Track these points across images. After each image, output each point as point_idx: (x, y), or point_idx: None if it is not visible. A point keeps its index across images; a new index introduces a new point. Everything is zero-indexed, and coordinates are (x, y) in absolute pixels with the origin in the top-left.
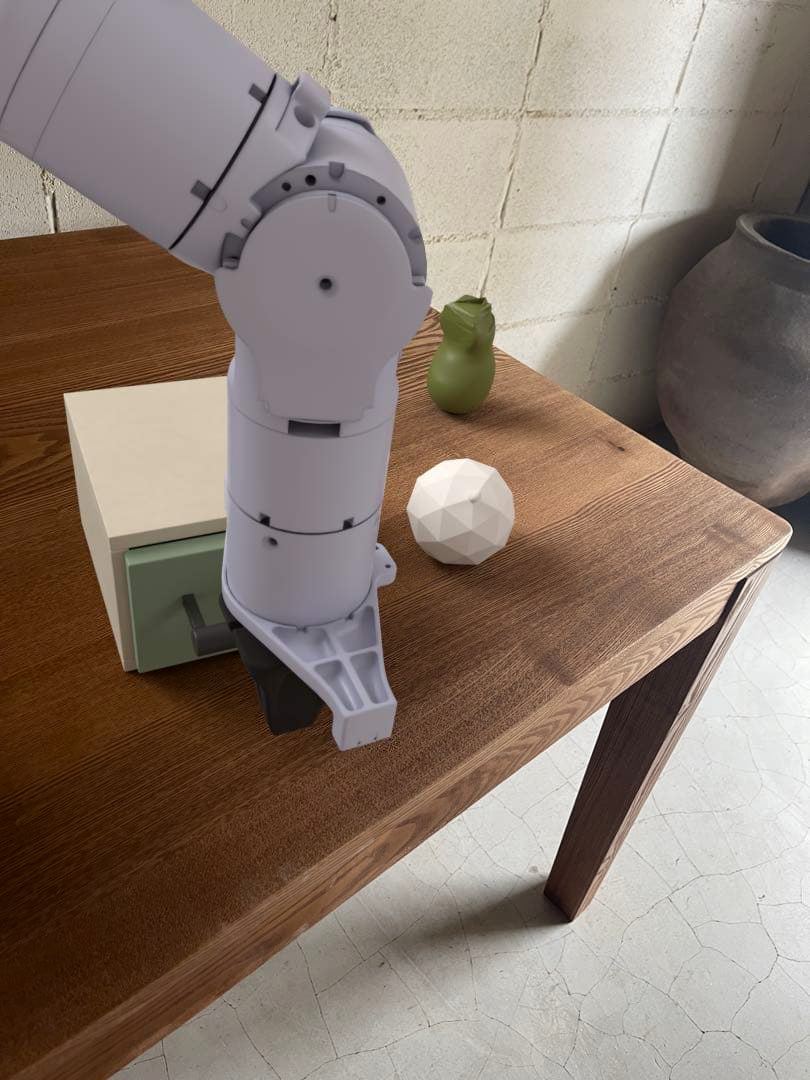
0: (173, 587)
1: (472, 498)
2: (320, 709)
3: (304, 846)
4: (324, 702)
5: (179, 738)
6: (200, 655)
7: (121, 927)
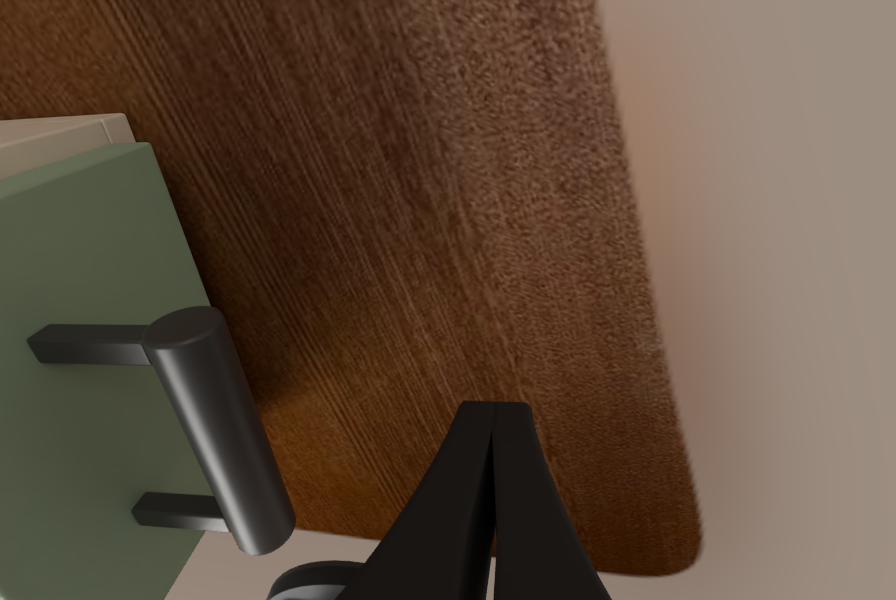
0: (126, 560)
1: None
2: (538, 442)
3: (622, 307)
4: (546, 465)
5: (373, 401)
6: (295, 519)
7: (621, 504)
